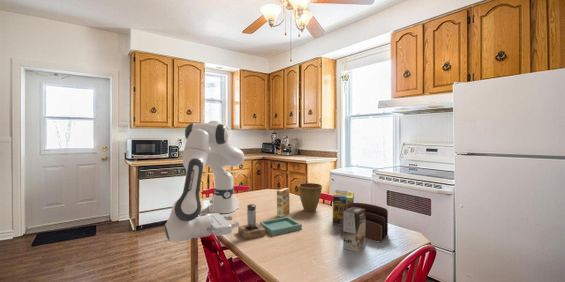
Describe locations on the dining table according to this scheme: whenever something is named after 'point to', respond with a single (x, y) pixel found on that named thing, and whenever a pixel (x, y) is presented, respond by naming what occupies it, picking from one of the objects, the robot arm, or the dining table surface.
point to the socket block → (251, 231)
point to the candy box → (283, 202)
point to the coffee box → (354, 228)
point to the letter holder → (373, 221)
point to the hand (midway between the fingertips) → (234, 220)
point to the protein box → (341, 205)
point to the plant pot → (310, 195)
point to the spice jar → (251, 217)
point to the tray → (280, 225)
